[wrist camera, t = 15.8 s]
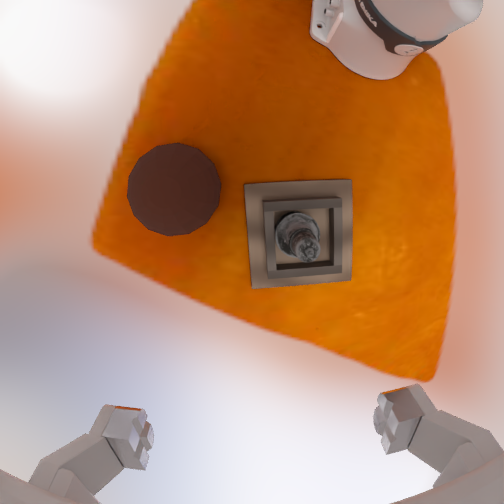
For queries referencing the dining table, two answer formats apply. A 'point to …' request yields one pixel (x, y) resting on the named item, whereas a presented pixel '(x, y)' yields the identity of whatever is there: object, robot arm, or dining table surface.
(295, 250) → the grey chess piece
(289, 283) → the walnut board
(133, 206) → the muffin
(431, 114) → the dining table surface
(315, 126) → the dining table surface
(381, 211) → the dining table surface
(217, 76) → the dining table surface
